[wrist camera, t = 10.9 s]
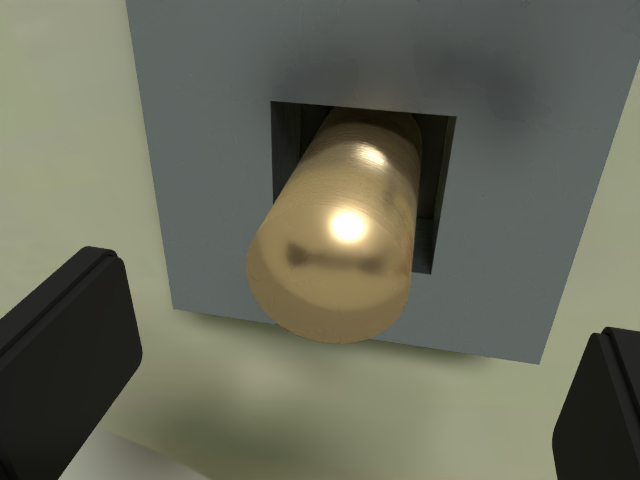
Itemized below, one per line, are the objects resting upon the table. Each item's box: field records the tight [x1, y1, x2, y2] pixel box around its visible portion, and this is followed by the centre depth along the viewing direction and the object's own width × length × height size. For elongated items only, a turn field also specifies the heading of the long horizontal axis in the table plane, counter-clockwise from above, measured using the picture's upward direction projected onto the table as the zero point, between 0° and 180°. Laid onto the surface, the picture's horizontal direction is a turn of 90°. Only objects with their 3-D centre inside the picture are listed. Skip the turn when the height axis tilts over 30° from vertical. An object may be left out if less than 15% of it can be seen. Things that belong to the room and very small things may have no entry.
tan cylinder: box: [246, 106, 422, 344], centre depth 16 cm, size 4×4×9 cm
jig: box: [126, 0, 640, 365], centre depth 16 cm, size 14×20×4 cm
